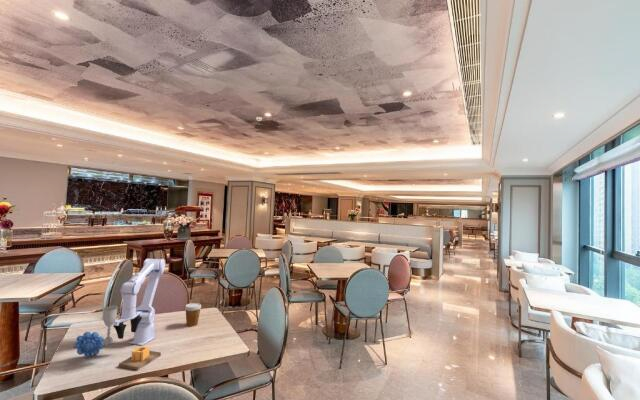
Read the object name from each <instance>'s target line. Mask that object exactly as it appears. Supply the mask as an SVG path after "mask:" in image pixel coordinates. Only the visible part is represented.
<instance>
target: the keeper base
mask: <svg viewBox="0 0 640 400" xmlns="http://www.w3.org/2000/svg"><path fill="white" fill-rule="evenodd" d="M139 351H141V352H142V351H143V349H141V350H139ZM161 352H162V351H161ZM161 352H159V351H153V350H149V356H148V357H147V358H145V359H144V360H143V361H135V360H131V359H132V355H131V356H130V357H128V358H126V359H125V360H123V361H121V362H119V363H118V368H121V369H128V370H132V369H135V370H134V371H139V370H141V369H143V368H144V367H145V366H147V365H148V364H150V363H151V362H153V361H155V360H156V359H158V358H160V357H161ZM140 368H141V369H140ZM138 369H139V370H138Z"/></svg>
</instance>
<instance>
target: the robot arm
mask: <svg viewBox="0 0 640 400" xmlns="http://www.w3.org/2000/svg"><path fill="white" fill-rule="evenodd" d="M142 264H143V265H142V266H143V267H142V268H140V271H139V272H136V273H135V274H134V275H133V276H132V277H130V279H129V280H128V281H125V282H124V283H122V285H121V287H120V290H119V291H120V294H121V299H122V302H121V303H122V305H121V315H120V317H118V318H117V319H115V321H114V323H113V324H112V325H113V328H114V330H115V331H116V335H117V338H118V339H119V340H123V339H124V336H125V329H126V327H127V324H124V323H125V322H128V321H130V332H131V333H133V334H134V335H133V340H131V341H129V344H133V345H138V346H143V345H145V344H147V343H149V342H151V341H153V340H154V339H156V336H155V323H154V320H155V314H156V310H155V308H154V307H153V306H152V305H153V301H154V297H155V294H156V290H157V287H158V284H159V280H160V278H161V277H160V276H162V275H163V274H164V271H165V270H166V269H165V268H166V260H165V259H164V258H146V259H145V260H144V261H143V263H142ZM147 275H148V276H149V278H148V281H147V284H146V288H145V290H144V291H145V292H144V294H143V298H142V301H141V303H140V305H139V306H137V294H138V293H139V291H140V289H141V287H142V286H141V285H143V283H144V282H145V281H146V279H147V278H146V277H147Z"/></svg>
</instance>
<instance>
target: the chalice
mask: <svg viewBox="0 0 640 400" xmlns="http://www.w3.org/2000/svg"><path fill="white" fill-rule="evenodd" d="M118 308H119V306H118V305H109V306H106V307H105V306H104V307H102V308H101V310H102V320H103V323H104V324H105V327H107V329H106V331H107V333H106V335H107V336H106V337H105V338H104V341H103V342H102V343H103V344H104V346H105V345H106V346H107V345H108V346H109V345H111V344H113V343H114V342H115V341H114V339H113V337H111V336H110V334H111V326H112V325H113V324H114V321H116V320H117V319H116V318H117V317H118V316H117V313H118Z"/></svg>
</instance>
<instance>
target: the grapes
mask: <svg viewBox="0 0 640 400" xmlns="http://www.w3.org/2000/svg"><path fill="white" fill-rule="evenodd" d="M104 339H105V338H104V337H103V336H100V334H99V333H98V332H96V331H94V332H92V333H91V332H90V331H85V332H83V335H78V336H77V337H76V338H75V340H76V341H75V343H74V344H73V348H74V349H77V350H76V353H77V355H81V356H82V355H83V356H85V357H86V358H89V357H91V356H92V355H94V356H97V355H98V354H99V353H100V350H102V349H104V348H105V345H104V344H103V341H104Z"/></svg>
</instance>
